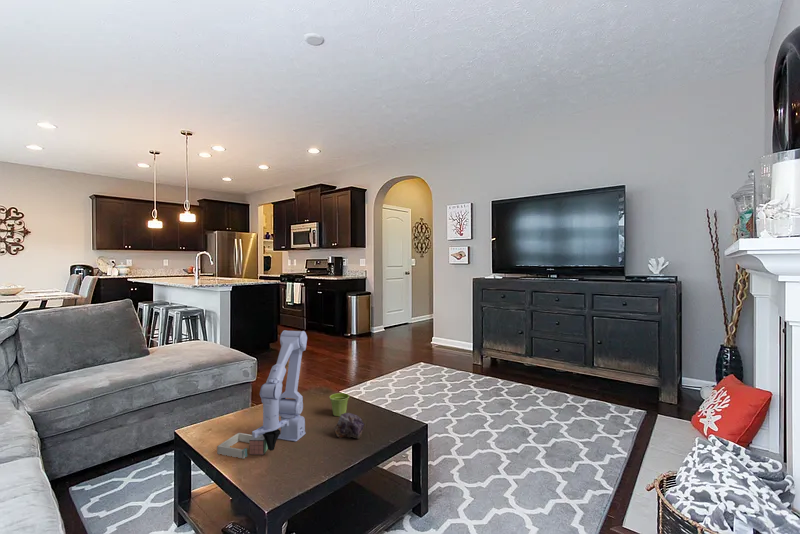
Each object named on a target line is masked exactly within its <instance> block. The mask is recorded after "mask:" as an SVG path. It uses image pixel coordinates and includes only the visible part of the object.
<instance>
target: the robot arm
mask: <svg viewBox="0 0 800 534" xmlns="http://www.w3.org/2000/svg"><path fill="white" fill-rule="evenodd" d="M307 342H308V335H307V333H306V331H305V330H302V331H301V330H286V329H285V330H282V332H281V333H280V337H279V343H280V350H279V352H278V356H277V360H276V364H274V365H272V366H271V369H270V372H269V375H268V377H267V379H266V382H264V383H263V384H262V385H261V387H260V390H259V396H260V399H261V403H262V425H261V426H260V427H258V428H256V429H255V430H252V431H251V435H252V437H254V438H256V437H257V436H259V435H263V436H264V438H265V440H266V443H267V446H268V449H267V451H270V452H272V451H274V450H275V448H276V447H275V446H276V443H277V441H278V439H279V440H284V441H291V442H297V441H299V440H300V439H301V438H302V437H304V436H305V435H306V434H307V433H306V419H305V417H304V416H303V415H301V414H302V412H303V409H304V403H303V400H304V399H303V395H302V394H301V393H300V392H299V391H298V387H299V379H300V373H301V365H302V357H303V352H304V351H306V349H307ZM288 361H289V362H288ZM287 363H288V367H287V368H288V369H287V368H286V365H287ZM286 373H287V375H286ZM285 376H287V377H286V382H285V390H284V392H283V381H284V379H285Z"/></svg>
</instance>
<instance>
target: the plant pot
mask: <svg viewBox="0 0 800 534" xmlns="http://www.w3.org/2000/svg"><path fill="white" fill-rule="evenodd" d="M349 398H350V394H348V393H345V392H338V393H332V394H331V395H329V399H330V402H331V409H332V415H333V416H335V417H340V416H341V414H344V413H347V409H348V401H349Z"/></svg>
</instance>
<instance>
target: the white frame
mask: <svg viewBox="0 0 800 534" xmlns="http://www.w3.org/2000/svg"><path fill="white" fill-rule="evenodd" d="M251 438H252V434H248V433H243V432H238V433H236V434H234V435H233V436H230V438H228V439H226V440H225V441H223V442H222V443H220V444H219V445H217V447H216V450H217V451H216V453H217V454H218V455H220V454H222V455H221V456H226V455H227V456H226V457H231V456H232V458H236V457H238V459H241V458H242V459H243V460H244V459H246V458H247V457H248V448H243V449H241V448H235V447H232V446H234V445H235V444H236V443H238V442H243V443H248V444H249V440H250V439H251ZM230 446H231V447H230ZM245 457H246V458H245Z"/></svg>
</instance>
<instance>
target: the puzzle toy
mask: <svg viewBox="0 0 800 534" xmlns="http://www.w3.org/2000/svg"><path fill="white" fill-rule="evenodd" d="M248 447H249V449H248V451H249V453H248V454H249V455H251V456H252V455H253V456H254V455H255V456H256V455H257V456H258V455H261V456H263V455H265V454H266V452H267V451H268V446H267V443H266V440H265V438H264V436H263V435H259V436H257V437H256V438H254V437H252V438H251V439H250V440H249V443H248Z"/></svg>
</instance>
